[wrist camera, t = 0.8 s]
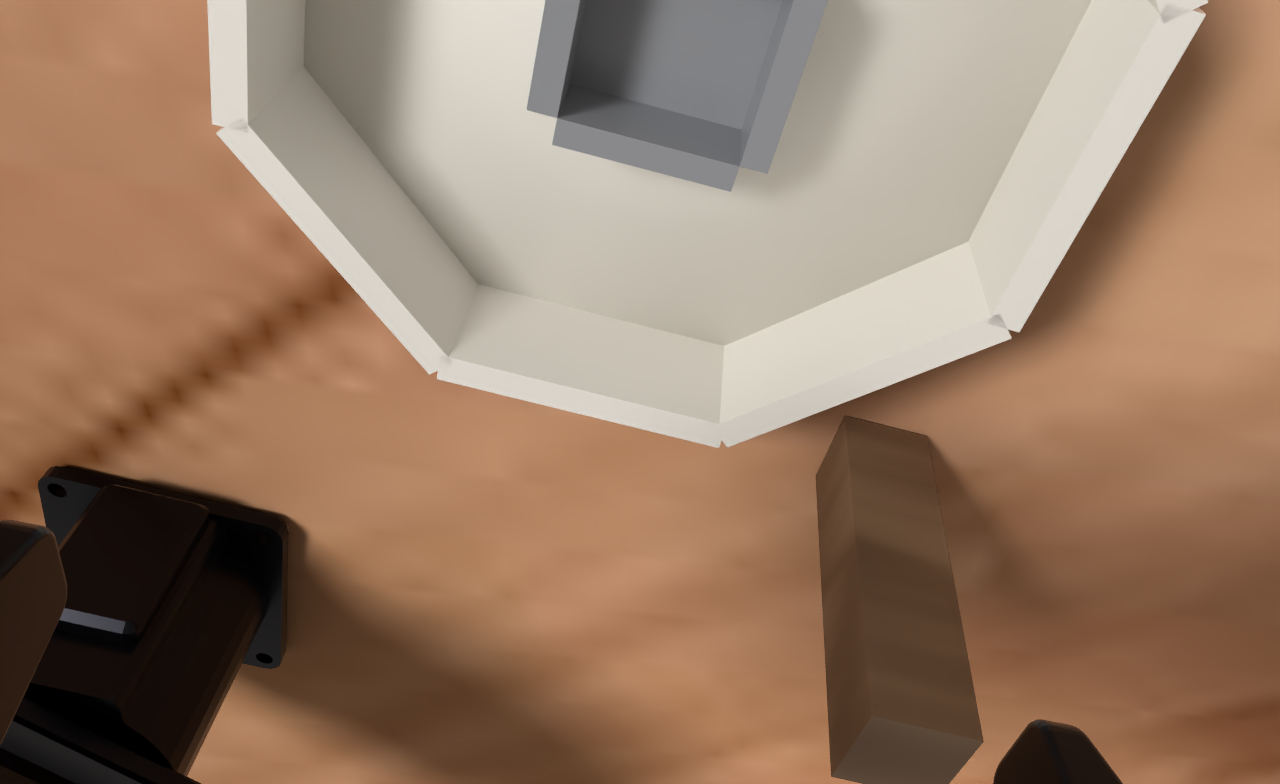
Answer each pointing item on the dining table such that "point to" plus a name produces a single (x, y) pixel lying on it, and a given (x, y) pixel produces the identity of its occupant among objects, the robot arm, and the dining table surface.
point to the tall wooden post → (890, 614)
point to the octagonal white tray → (691, 181)
